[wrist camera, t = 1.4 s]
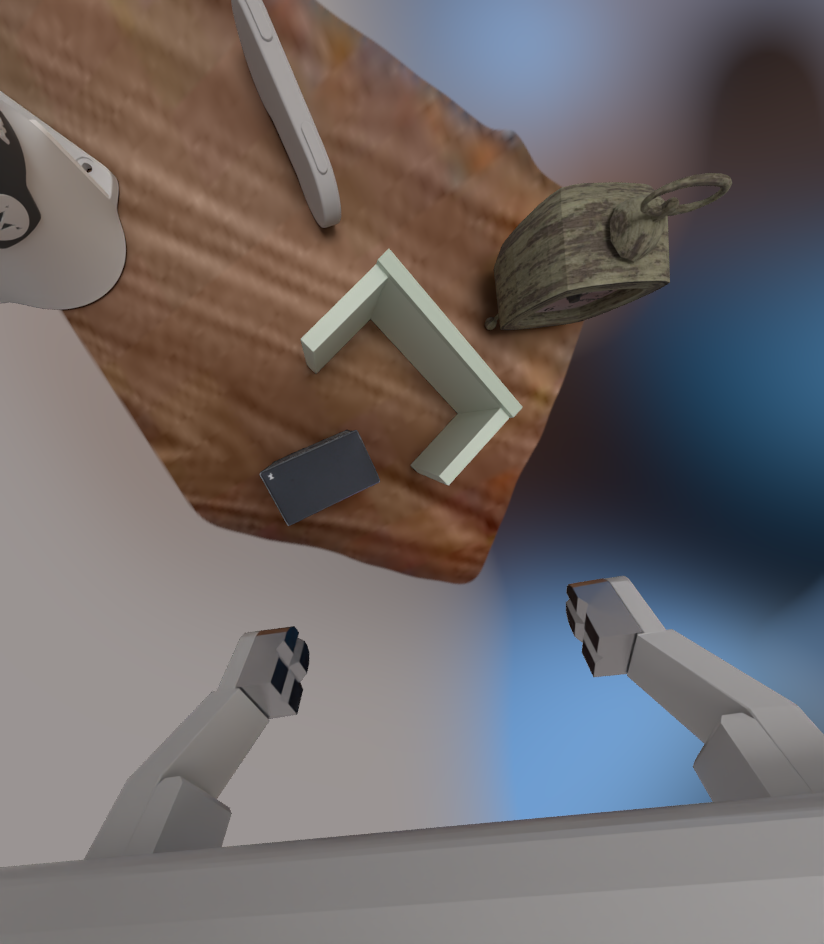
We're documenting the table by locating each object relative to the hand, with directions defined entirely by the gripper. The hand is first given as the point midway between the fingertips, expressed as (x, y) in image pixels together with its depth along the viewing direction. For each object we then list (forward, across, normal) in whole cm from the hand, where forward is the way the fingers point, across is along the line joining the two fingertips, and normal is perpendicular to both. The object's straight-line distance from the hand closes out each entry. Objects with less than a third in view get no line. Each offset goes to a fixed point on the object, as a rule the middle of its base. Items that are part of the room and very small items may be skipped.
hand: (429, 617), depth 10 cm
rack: (+38, +3, +5) cm, 38 cm away
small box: (+32, +14, +11) cm, 36 cm away
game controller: (+47, +9, -22) cm, 53 cm away
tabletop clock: (+47, -16, -1) cm, 50 cm away
